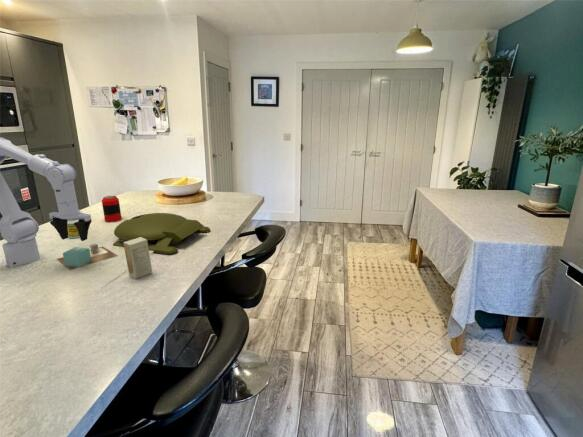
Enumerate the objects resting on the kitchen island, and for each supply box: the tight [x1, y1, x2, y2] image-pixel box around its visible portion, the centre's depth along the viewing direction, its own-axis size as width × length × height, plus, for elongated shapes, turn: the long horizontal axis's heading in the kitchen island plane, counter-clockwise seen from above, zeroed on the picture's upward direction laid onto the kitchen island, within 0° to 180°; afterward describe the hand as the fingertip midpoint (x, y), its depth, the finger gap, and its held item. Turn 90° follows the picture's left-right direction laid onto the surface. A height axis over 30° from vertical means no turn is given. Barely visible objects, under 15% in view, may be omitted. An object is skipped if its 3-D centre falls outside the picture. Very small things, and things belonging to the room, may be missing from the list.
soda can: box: [101, 195, 122, 223], centre depth 169 cm, size 8×8×12 cm
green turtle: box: [112, 212, 211, 256], centre depth 146 cm, size 35×31×10 cm
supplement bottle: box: [67, 219, 80, 239], centre depth 147 cm, size 5×5×10 cm
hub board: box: [56, 243, 119, 271], centre depth 124 cm, size 16×14×4 cm
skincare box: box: [123, 237, 153, 280], centre depth 112 cm, size 6×4×12 cm
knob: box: [62, 246, 91, 268], centre depth 119 cm, size 6×6×5 cm
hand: (74, 239), depth 117 cm, fingers open, 7 cm apart
